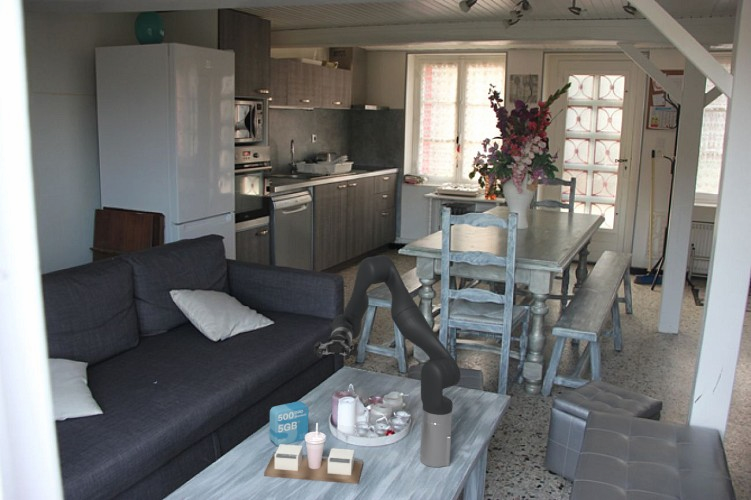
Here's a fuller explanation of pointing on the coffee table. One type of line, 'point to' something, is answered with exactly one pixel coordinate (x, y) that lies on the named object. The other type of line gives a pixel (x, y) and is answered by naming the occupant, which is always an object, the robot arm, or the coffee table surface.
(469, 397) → the coffee table surface
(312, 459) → the smoothie
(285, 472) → the rail board
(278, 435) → the data package
